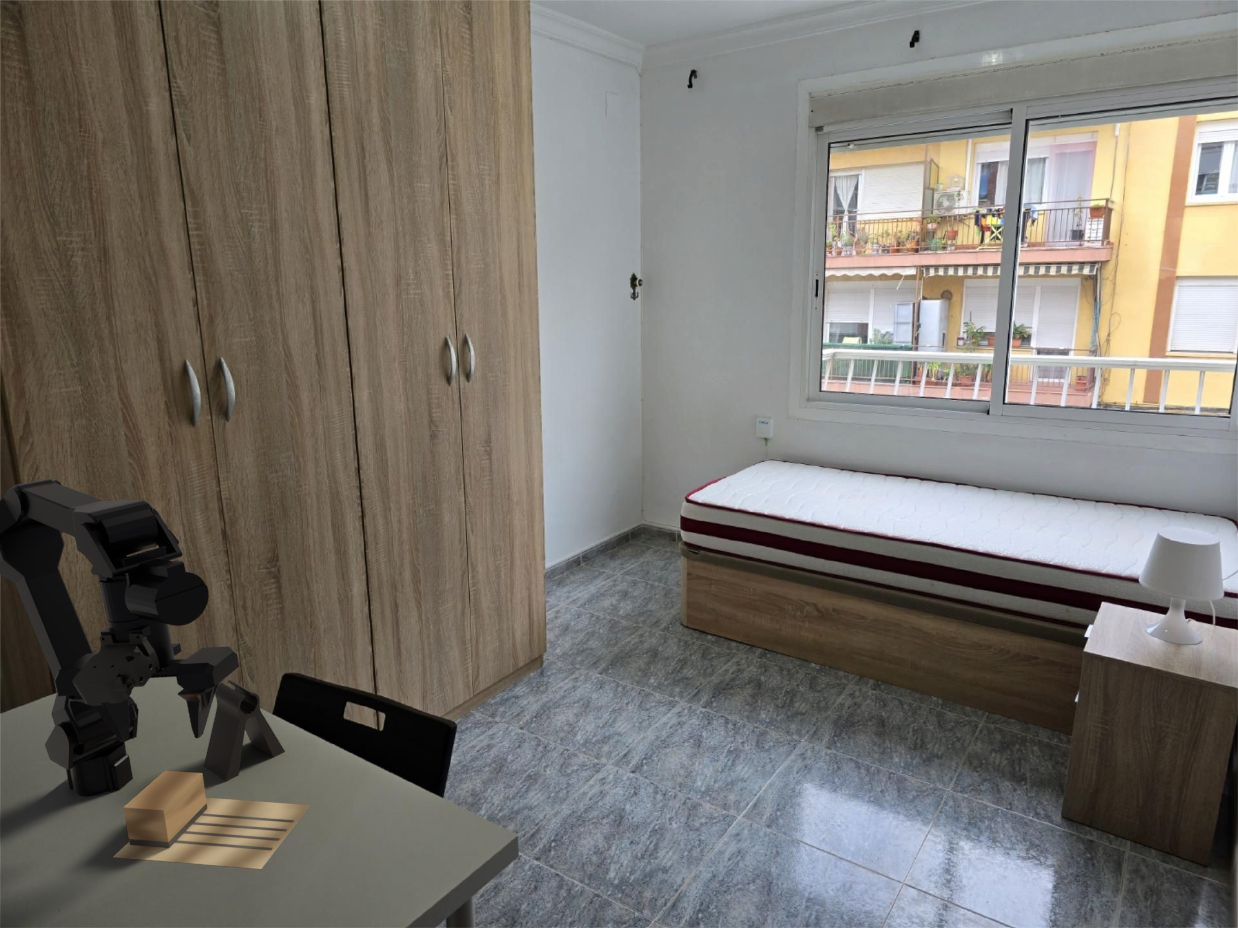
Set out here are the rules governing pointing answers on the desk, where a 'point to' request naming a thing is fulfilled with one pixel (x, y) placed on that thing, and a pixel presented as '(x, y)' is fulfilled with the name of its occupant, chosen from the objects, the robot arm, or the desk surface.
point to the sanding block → (165, 809)
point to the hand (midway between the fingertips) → (161, 737)
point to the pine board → (228, 835)
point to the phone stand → (237, 730)
